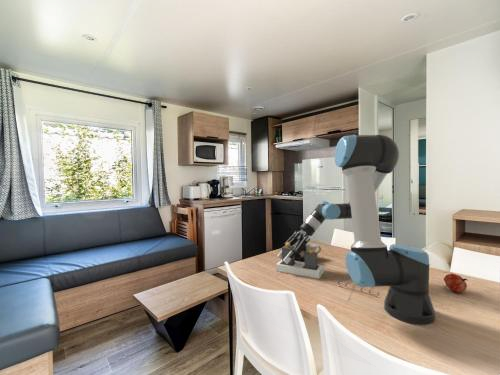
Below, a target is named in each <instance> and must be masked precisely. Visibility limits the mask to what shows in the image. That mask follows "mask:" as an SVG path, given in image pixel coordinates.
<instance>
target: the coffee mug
mask: <svg viewBox="0 0 500 375" xmlns="http://www.w3.org/2000/svg"><path fill="white" fill-rule="evenodd" d="M296 243H297V242H296ZM296 243H295V244H294V245H293V246H295V245H296ZM307 244H308V243H307ZM307 244H306V245H307ZM306 245H305V247H304V248H303V250H302V251H301V252H300V254H295V261H299V262H305V255H304V254H305V253H306Z"/></svg>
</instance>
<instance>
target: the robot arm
mask: <svg viewBox="0 0 500 375" xmlns="http://www.w3.org/2000/svg"><path fill="white" fill-rule="evenodd" d="M399 157H400V151H399V147H398V145H397V143H396V142H395V140H393V139H392V138H391V137H390V136H388V135H385V134H362V135H361V134H358V135H356V134H350V135H344V136H342V137H341V138H340V139H339V141H338V142H337V144H336V147H335V150H334V163H335V165H336V166H337V167H339V168H341V170H342V174H343V175H345V177H346V179H347V186H348V195H349V201H348V203H345V202H344V203H330V202H328V201H326V200H322V201H320V202H319V203H318V204H317V206H316V207H315V208H314V209H313V210H312V212H311V213H310V214H309V215H308V216H307V218H306V219H305V220H304V222H302V224H301V225H300V226H299V228H300V229H299V231H297V230H295V231H294V232H293V234H292V235H291V236H290V237H289V238H288V239H287V240H286V241H285V242H284V246H285V245H286V243H290V246H293V245H294V244H295V243H296V242H297V243H296V245H295V247H294V249H291V250H292V251H293V252H292V251H290V252H289V254H288V255H287V256H286V257H285V258H284V260H283V261H284V262H285V263H286V264H288V262H289V261H290V260H291V259H292V258H293V257H294V255H295V254H300V252H301V251H302V250H303V248H304V247H305V245H306V244H309V243H308V242H310V241H311V238H310V237H312V236H313V235H314V234H315V232H316V231H317V230H318V229H319V228H320V226H321V225H322V224H323V223H324V222H325V220H330V221H331V220H345V219H346V220H347V219H351V222H352V232H353V239H354V241H353V243H352V244H351V246H350V251H349V252H348V253H346V254H345V266H346V270H347V273H348V275H349V277H350V279H351V281H353V283H354V284H355V285H357V286H359V287H361V288H374V287H389V288H388V291H387V293H386V295H385V298H384V301H383V302H384V304H383V308H384V310H385V311H386V313H388V314H389V315H390V316H392V317H393V318H395V319H398V320H399V321H403V322H406V323H409V324H413V325H414V324H416V325H428V324H432V323H434V322H435V321H436V310H435V308H434V304H433V303H432V300H431V297H430V291H429V290H430V266H431V264H430V256H429V254H428V253H427V251H425V250H424V249H422V248H417V247H414V246H410V245H405V244H398V243H397V244H395V243H393V244H390V246H389V249H388V245H387V244H385V242H383V241H382V236H381V229H380V222H379V214H378V213H379V212H378V206H377V205H378V204H377V200H376V199H377V198H376V191H378V189H379V187H380V186H381V184H382V182H383V181H384V180H385V178H386V177H387V175H389V174H391V173H392V172H393V171H394V170H395V169H396V166H397V165H398V162H399ZM276 256H277V258H279V259H280V260H282V250H281V251H280V252H279V253H278V254H277V255H276Z"/></svg>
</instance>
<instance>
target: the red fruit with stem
mask: <svg viewBox="0 0 500 375" xmlns="http://www.w3.org/2000/svg"><path fill="white" fill-rule="evenodd" d="M443 281H444V282H445V286H444V288H448V289H449V291H450V292H452V293H455V292H457V293H458V294H459V293H462V292H464V291H466V289H467V287H468V284H467V282H466V281H468V279H467V278H463V277H462V276H460V275H458V274H454V273H449V274H446V275H445V276H444V277H443ZM457 293H456V294H457Z"/></svg>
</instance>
